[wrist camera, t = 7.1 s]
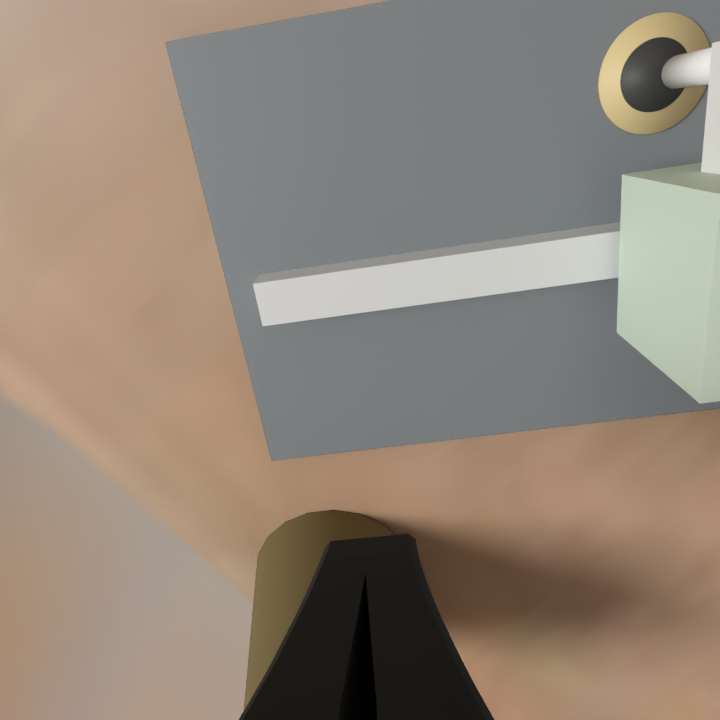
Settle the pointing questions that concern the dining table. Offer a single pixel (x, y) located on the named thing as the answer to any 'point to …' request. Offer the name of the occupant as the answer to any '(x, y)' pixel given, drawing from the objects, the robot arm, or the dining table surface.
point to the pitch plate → (438, 209)
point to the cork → (293, 578)
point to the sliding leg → (676, 249)
